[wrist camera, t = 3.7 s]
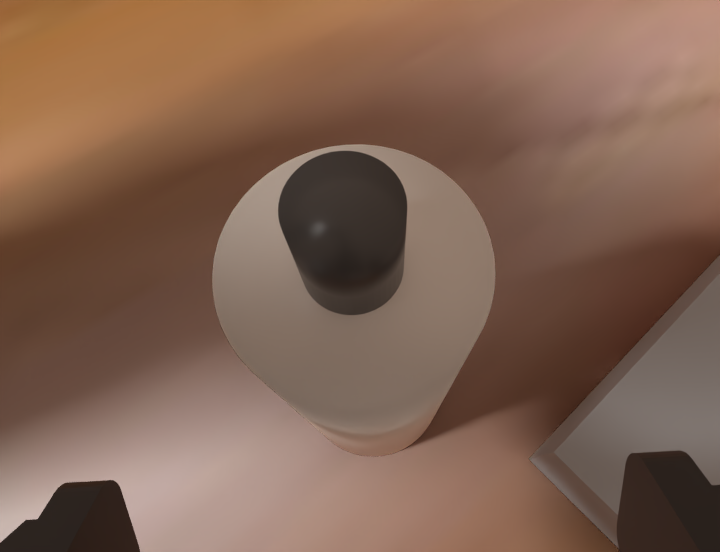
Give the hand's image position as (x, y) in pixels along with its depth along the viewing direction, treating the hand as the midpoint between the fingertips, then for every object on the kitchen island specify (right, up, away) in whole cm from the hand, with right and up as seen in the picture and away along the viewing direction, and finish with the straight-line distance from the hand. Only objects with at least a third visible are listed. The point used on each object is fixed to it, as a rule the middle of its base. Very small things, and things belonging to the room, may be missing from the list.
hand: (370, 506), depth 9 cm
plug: (0, 0, +10) cm, 10 cm away
